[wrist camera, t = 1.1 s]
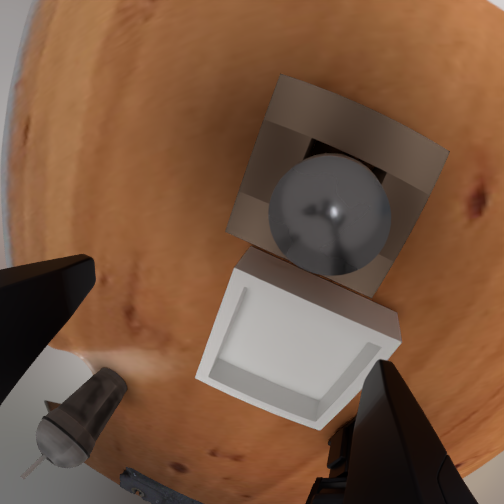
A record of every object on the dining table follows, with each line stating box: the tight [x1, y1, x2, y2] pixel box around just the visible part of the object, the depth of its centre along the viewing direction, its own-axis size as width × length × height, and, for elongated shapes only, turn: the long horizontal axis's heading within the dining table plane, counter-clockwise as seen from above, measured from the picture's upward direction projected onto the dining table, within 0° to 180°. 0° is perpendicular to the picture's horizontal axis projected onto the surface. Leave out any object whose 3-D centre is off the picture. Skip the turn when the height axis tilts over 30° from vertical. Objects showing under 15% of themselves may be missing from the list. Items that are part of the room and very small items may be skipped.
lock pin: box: [268, 153, 391, 276], centre depth 15 cm, size 4×4×9 cm
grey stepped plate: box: [120, 467, 203, 504], centre depth 54 cm, size 15×22×5 cm
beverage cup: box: [21, 368, 127, 479], centre depth 28 cm, size 7×7×20 cm
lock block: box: [225, 74, 450, 298], centre depth 17 cm, size 9×9×4 cm
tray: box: [195, 246, 402, 430], centre depth 23 cm, size 12×12×4 cm
